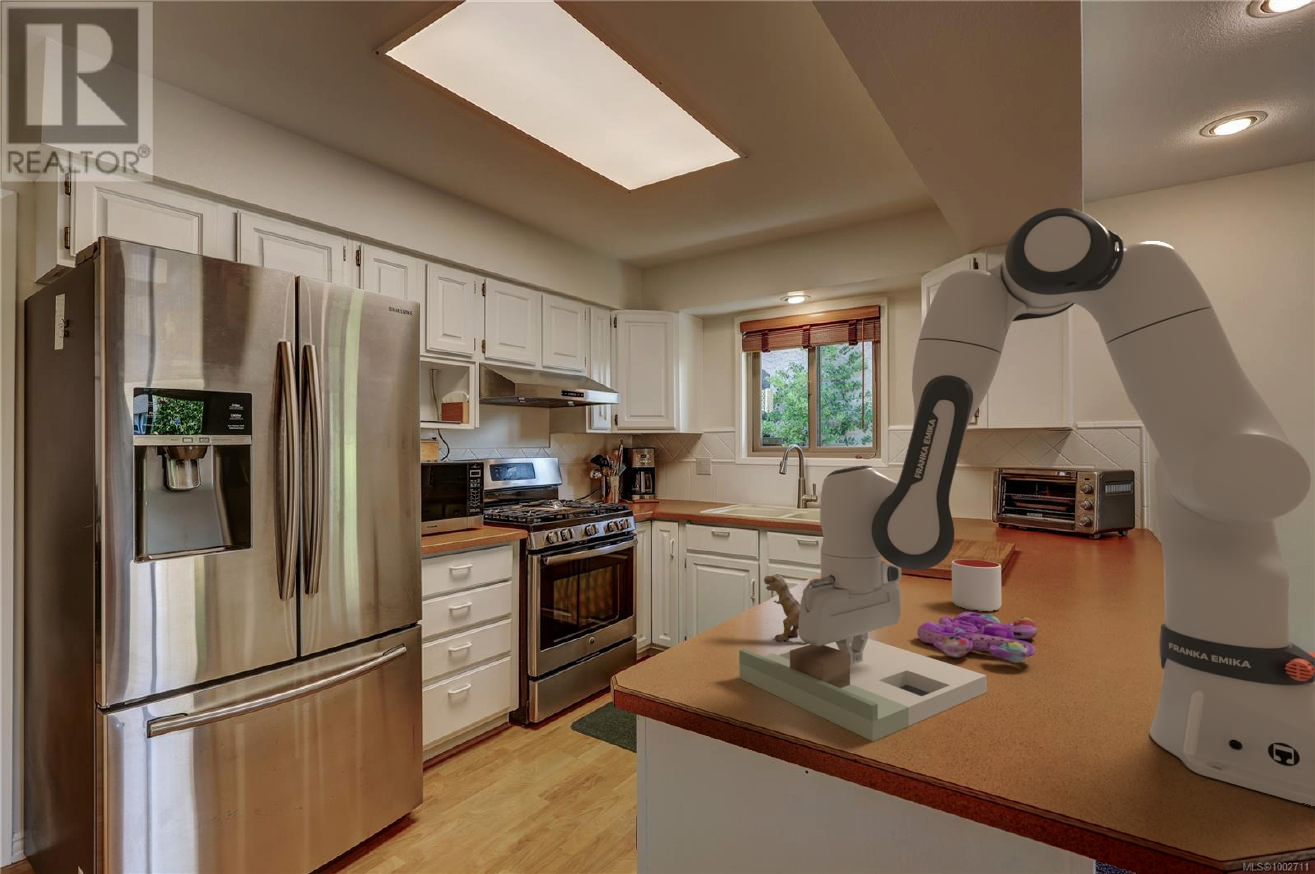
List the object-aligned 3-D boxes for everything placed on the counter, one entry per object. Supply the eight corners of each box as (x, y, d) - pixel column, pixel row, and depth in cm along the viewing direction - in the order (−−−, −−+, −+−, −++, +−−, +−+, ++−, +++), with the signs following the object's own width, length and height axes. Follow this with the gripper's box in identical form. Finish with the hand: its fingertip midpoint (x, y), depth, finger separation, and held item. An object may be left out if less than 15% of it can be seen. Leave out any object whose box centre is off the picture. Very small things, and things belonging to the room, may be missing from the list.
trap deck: (986, 692, 91) (986, 662, 91) (872, 741, 76) (872, 705, 76) (850, 646, 112) (849, 622, 112) (739, 678, 97) (739, 650, 97)
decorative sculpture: (898, 654, 109) (1024, 677, 95) (897, 628, 110) (1022, 646, 96) (953, 624, 130) (1063, 640, 116) (952, 602, 130) (1062, 614, 116)
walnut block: (849, 684, 88) (849, 653, 88) (823, 694, 84) (822, 662, 84) (816, 672, 93) (816, 642, 93) (790, 681, 89) (789, 650, 89)
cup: (1002, 605, 140) (1001, 561, 140) (1000, 615, 132) (999, 569, 132) (954, 599, 145) (954, 557, 146) (949, 609, 137) (949, 564, 137)
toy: (745, 603, 123) (773, 565, 120) (817, 661, 118) (848, 623, 116) (737, 614, 116) (767, 574, 114) (813, 676, 111) (846, 636, 109)
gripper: (821, 585, 84) (822, 685, 84) (908, 567, 96) (909, 655, 95) (787, 577, 89) (788, 671, 89) (873, 561, 101) (874, 644, 101)
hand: (851, 663), depth 92 cm, fingers closed
